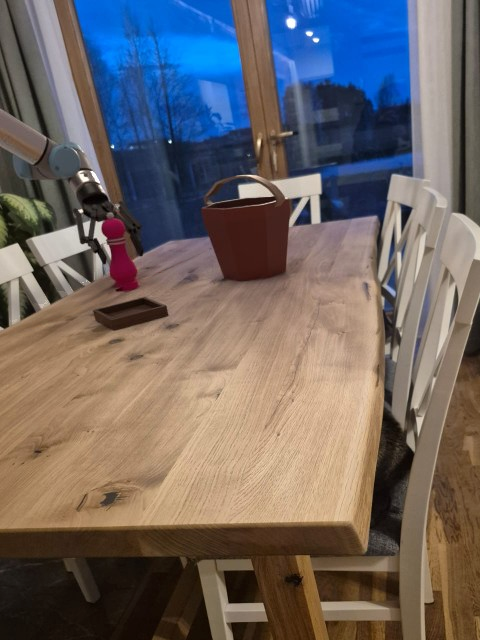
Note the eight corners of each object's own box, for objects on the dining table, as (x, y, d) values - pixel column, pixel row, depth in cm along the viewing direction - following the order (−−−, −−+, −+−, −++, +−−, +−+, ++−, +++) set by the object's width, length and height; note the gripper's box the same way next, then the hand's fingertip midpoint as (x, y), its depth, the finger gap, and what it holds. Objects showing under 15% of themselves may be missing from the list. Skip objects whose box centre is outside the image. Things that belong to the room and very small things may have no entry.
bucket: (198, 277, 161) (181, 182, 151) (260, 259, 174) (248, 171, 163) (251, 287, 144) (235, 180, 133) (315, 267, 156) (306, 168, 146)
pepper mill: (133, 283, 162) (116, 209, 154) (145, 287, 157) (128, 210, 148) (109, 290, 158) (90, 214, 150) (120, 293, 153) (101, 215, 145)
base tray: (95, 319, 132) (92, 310, 131) (147, 306, 138) (144, 296, 137) (113, 330, 122) (111, 320, 121) (168, 315, 128) (166, 305, 127)
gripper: (47, 188, 148) (82, 256, 143) (129, 176, 159) (164, 239, 154) (48, 208, 155) (81, 275, 149) (127, 196, 165) (160, 257, 160)
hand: (123, 257), depth 151 cm, fingers open, 9 cm apart
